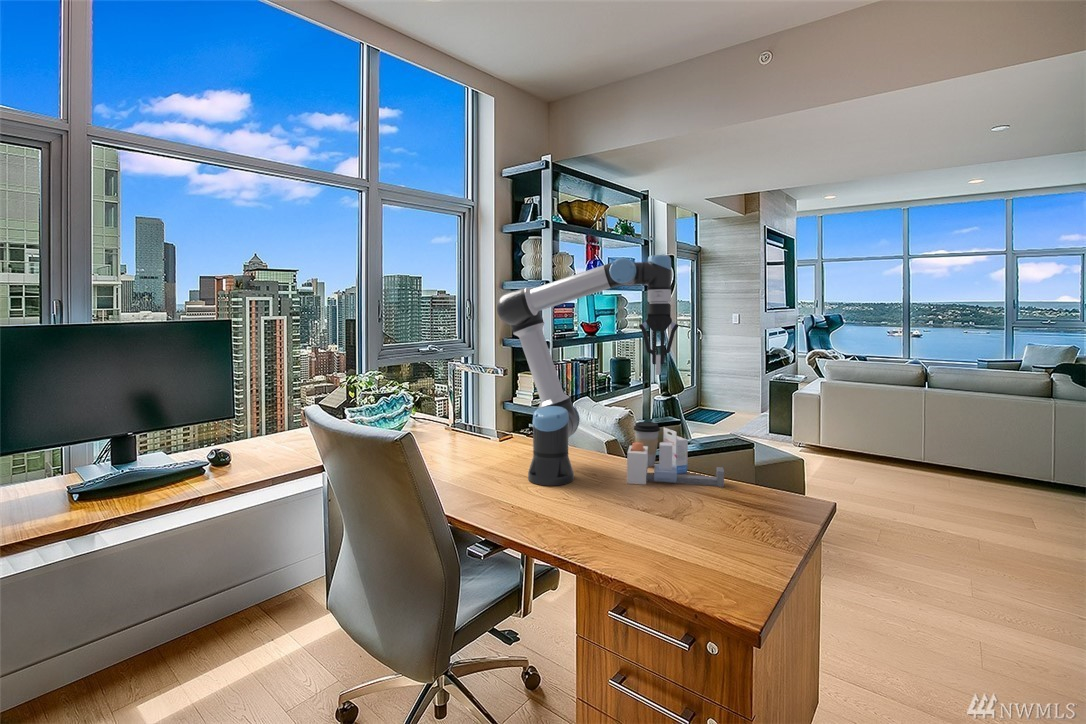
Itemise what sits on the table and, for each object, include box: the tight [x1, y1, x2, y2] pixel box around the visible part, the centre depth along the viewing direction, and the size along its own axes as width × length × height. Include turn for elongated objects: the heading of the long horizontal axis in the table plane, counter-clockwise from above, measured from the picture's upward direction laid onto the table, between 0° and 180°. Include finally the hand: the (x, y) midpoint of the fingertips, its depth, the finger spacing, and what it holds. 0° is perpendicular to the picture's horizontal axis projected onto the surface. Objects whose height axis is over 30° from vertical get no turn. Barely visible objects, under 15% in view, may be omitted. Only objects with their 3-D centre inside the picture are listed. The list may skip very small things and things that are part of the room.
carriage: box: [653, 441, 678, 483], centre depth 176 cm, size 7×9×12 cm
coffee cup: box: [633, 421, 661, 468], centre depth 195 cm, size 9×9×15 cm
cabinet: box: [626, 444, 649, 485], centre depth 178 cm, size 6×10×10 cm, turn 166°
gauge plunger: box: [631, 441, 643, 452], centre depth 178 cm, size 4×4×4 cm
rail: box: [646, 466, 725, 488], centre depth 175 cm, size 24×5×5 cm, turn 76°
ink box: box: [662, 426, 689, 475], centre depth 188 cm, size 8×5×15 cm, turn 20°
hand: (658, 374), depth 180 cm, fingers closed
